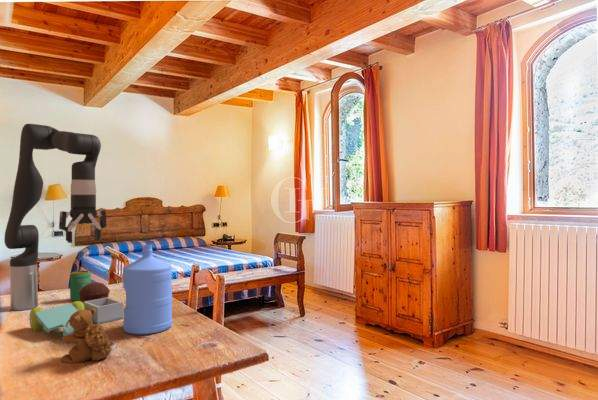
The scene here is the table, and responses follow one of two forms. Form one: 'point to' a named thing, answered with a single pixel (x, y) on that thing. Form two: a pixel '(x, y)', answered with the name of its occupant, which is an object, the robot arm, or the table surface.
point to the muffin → (93, 292)
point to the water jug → (147, 295)
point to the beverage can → (78, 283)
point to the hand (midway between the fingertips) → (83, 241)
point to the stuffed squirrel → (86, 339)
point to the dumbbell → (33, 319)
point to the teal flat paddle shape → (57, 318)
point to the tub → (105, 310)
